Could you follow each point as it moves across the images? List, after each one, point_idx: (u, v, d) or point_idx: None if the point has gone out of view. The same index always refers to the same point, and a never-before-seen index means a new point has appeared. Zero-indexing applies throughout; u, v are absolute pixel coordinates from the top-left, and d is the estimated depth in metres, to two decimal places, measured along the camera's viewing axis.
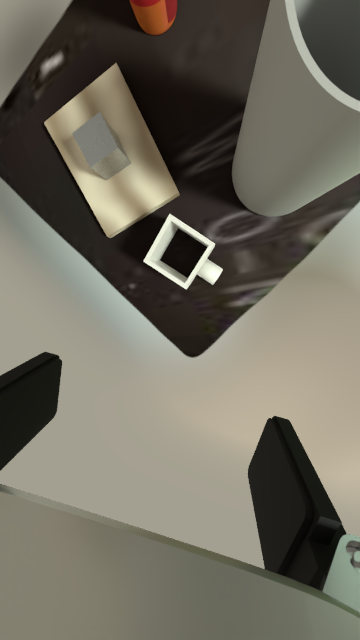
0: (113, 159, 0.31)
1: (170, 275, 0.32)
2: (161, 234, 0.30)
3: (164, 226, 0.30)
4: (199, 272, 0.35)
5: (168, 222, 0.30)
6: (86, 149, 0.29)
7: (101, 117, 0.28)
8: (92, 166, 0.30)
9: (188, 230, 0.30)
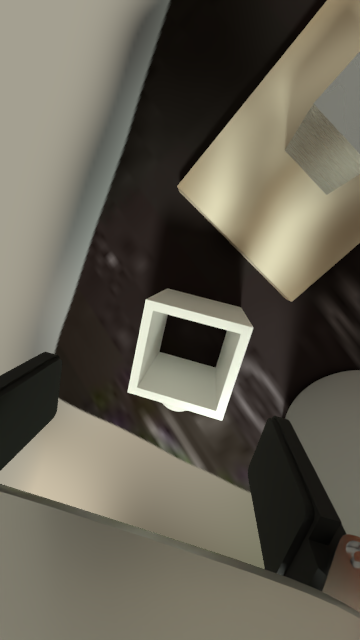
0: (337, 159, 0.13)
1: (140, 358, 0.16)
2: (209, 322, 0.15)
3: (226, 323, 0.14)
4: None
5: (236, 329, 0.14)
6: (356, 76, 0.11)
7: None
8: (317, 107, 0.12)
9: (231, 370, 0.15)
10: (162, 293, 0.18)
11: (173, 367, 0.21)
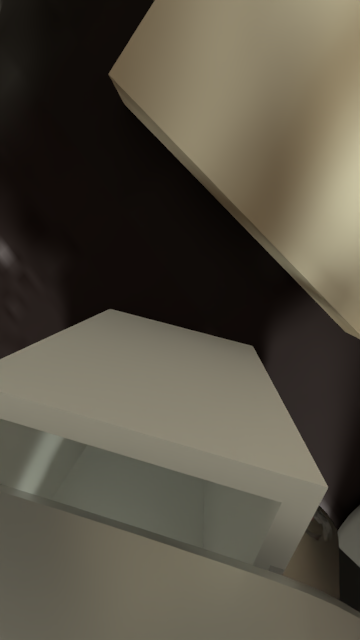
0: None
1: None
2: (172, 459, 0.04)
3: (230, 469, 0.04)
4: None
5: (265, 488, 0.04)
6: None
7: None
8: None
9: None
10: (77, 329, 0.08)
11: (119, 470, 0.10)
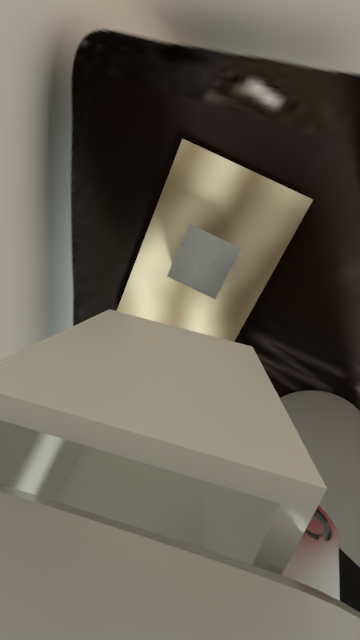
0: None
1: None
2: (171, 460, 0.04)
3: (229, 470, 0.04)
4: None
5: (263, 489, 0.04)
6: (184, 257, 0.18)
7: (235, 254, 0.18)
8: (169, 277, 0.19)
9: None
10: (76, 330, 0.08)
11: (118, 471, 0.10)
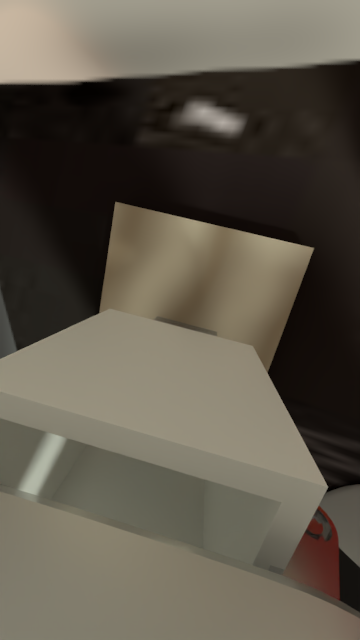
0: None
1: None
2: (171, 459, 0.04)
3: (230, 469, 0.04)
4: None
5: (265, 488, 0.04)
6: None
7: None
8: None
9: None
10: (77, 329, 0.08)
11: (119, 471, 0.10)
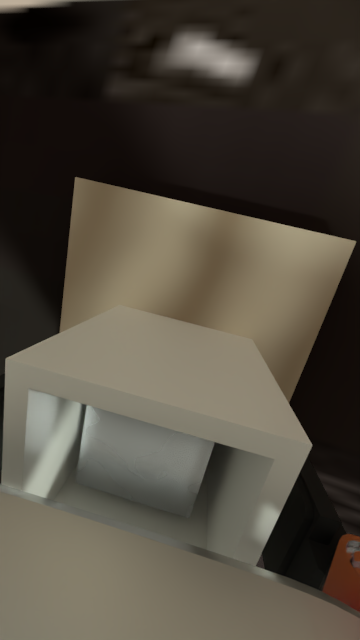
0: None
1: None
2: (184, 424, 0.05)
3: (232, 431, 0.05)
4: None
5: (260, 447, 0.05)
6: (99, 446, 0.08)
7: None
8: (82, 484, 0.09)
9: (246, 542, 0.06)
10: (94, 322, 0.09)
11: None
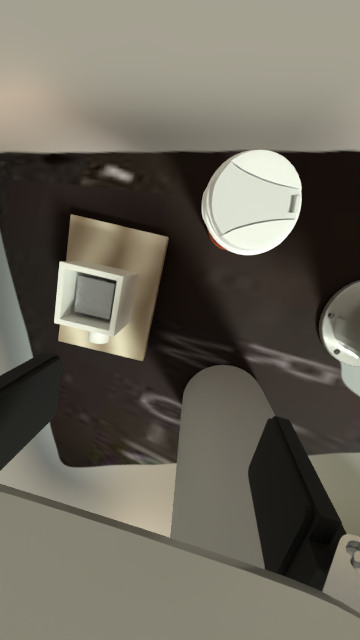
0: None
1: (60, 299, 0.26)
2: (98, 274, 0.25)
3: (107, 274, 0.25)
4: None
5: (113, 278, 0.25)
6: (81, 296, 0.28)
7: (112, 288, 0.27)
8: (76, 311, 0.28)
9: (114, 303, 0.25)
10: (78, 262, 0.28)
11: None
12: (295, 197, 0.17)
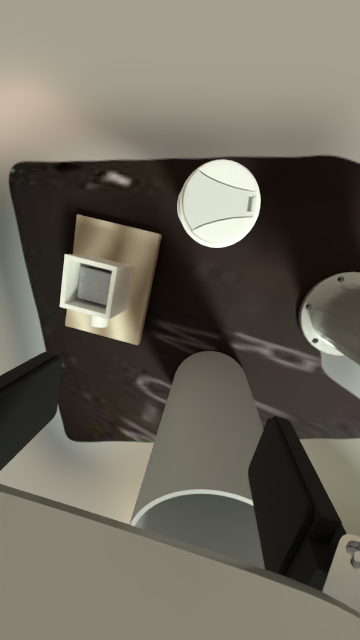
0: None
1: (64, 286, 0.30)
2: (96, 265, 0.29)
3: (104, 265, 0.29)
4: None
5: (109, 268, 0.29)
6: (83, 285, 0.32)
7: (109, 278, 0.31)
8: None
9: (110, 290, 0.30)
10: (82, 255, 0.33)
11: None
12: (252, 198, 0.20)
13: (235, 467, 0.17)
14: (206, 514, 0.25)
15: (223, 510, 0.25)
